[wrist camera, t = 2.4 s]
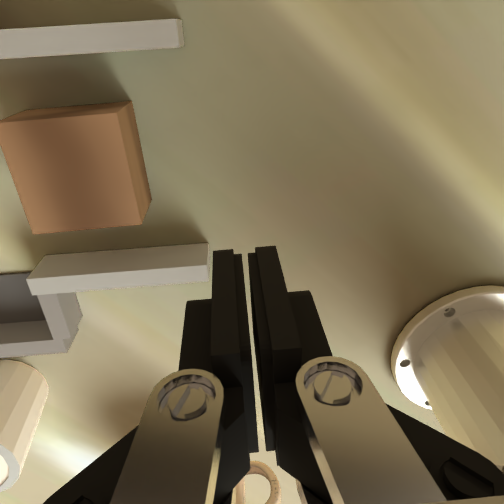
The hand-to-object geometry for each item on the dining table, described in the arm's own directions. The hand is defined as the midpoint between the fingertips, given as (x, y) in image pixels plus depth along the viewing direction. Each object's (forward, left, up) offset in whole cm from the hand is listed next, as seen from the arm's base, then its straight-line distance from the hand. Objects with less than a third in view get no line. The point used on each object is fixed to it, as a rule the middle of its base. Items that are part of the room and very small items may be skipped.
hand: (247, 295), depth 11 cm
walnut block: (+9, 0, -16) cm, 18 cm away
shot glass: (+19, +18, -16) cm, 31 cm away
